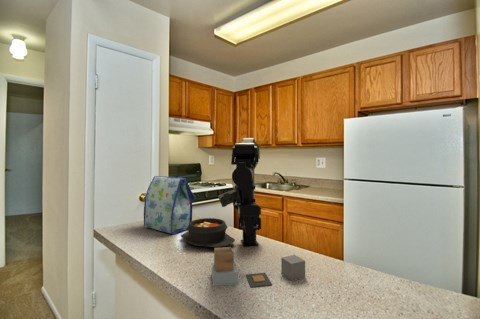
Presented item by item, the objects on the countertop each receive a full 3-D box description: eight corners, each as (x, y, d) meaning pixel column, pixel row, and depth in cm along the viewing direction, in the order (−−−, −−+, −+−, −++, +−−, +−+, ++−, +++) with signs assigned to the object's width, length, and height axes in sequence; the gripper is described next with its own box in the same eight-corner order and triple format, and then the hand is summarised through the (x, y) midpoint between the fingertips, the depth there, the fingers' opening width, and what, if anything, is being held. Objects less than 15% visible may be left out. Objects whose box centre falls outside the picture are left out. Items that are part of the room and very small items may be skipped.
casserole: (244, 242, 102) (244, 222, 102) (212, 256, 88) (212, 233, 88) (203, 231, 118) (203, 214, 118) (170, 241, 103) (170, 222, 103)
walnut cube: (214, 264, 74) (214, 248, 74) (230, 263, 75) (230, 246, 75) (216, 272, 69) (215, 254, 69) (233, 270, 70) (233, 253, 70)
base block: (211, 274, 75) (211, 263, 75) (234, 272, 76) (234, 261, 76) (213, 286, 68) (213, 274, 68) (238, 284, 69) (238, 272, 69)
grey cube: (281, 273, 75) (281, 257, 75) (294, 270, 77) (294, 254, 77) (291, 281, 70) (291, 263, 70) (305, 277, 73) (305, 260, 73)
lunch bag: (196, 227, 124) (196, 176, 124) (171, 236, 110) (171, 178, 110) (166, 221, 136) (166, 174, 136) (140, 228, 122) (140, 176, 122)
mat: (245, 275, 74) (245, 273, 74) (265, 273, 75) (265, 271, 75) (251, 287, 67) (251, 285, 67) (272, 285, 68) (272, 283, 68)
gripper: (217, 179, 86) (218, 223, 87) (222, 187, 68) (222, 242, 68) (248, 178, 88) (248, 221, 89) (261, 186, 70) (261, 240, 70)
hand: (245, 230), depth 79 cm, fingers open, 9 cm apart
